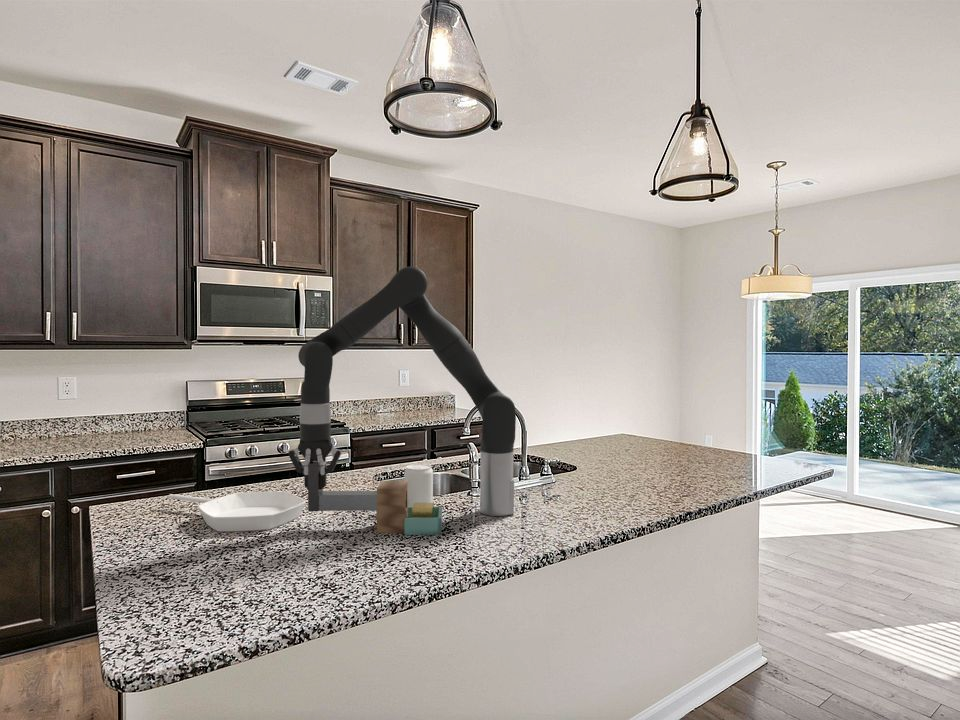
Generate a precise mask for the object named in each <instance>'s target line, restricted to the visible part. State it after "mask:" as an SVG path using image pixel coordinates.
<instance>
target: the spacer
mask: <svg viewBox="0 0 960 720" xmlns="http://www.w3.org/2000/svg"><path fill="white" fill-rule="evenodd" d="M434 506H435V502H433V503H416V502H415V503H414V505H413V507H412V518H434Z"/></svg>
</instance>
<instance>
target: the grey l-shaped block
mask: <svg viewBox="0 0 960 720" xmlns="http://www.w3.org/2000/svg"><path fill="white" fill-rule="evenodd" d="M320 475H321V474H320V469H319V463H318V461H311V462H310V463H308V490H307V512H335V511H336V512H346V511H347V512H349V511H351V512H354V511H355V512H357V511H358V512H364V511H365V512H366V511H367V512H370V511H371V512H373V511H375V512H377V490H324V489H323V490H320Z"/></svg>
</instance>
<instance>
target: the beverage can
mask: <svg viewBox="0 0 960 720" xmlns="http://www.w3.org/2000/svg"><path fill="white" fill-rule="evenodd" d="M403 474H404V478H403V479H404V480H403V481H408V506H413V505H414V503H415V502H416V503H434V470H433V468H432V465H429V464H424V463H423V464H422V463H417V464H416V463H415V464H413V463H412V464H409V465H406V467H405V469H404V473H403Z"/></svg>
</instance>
